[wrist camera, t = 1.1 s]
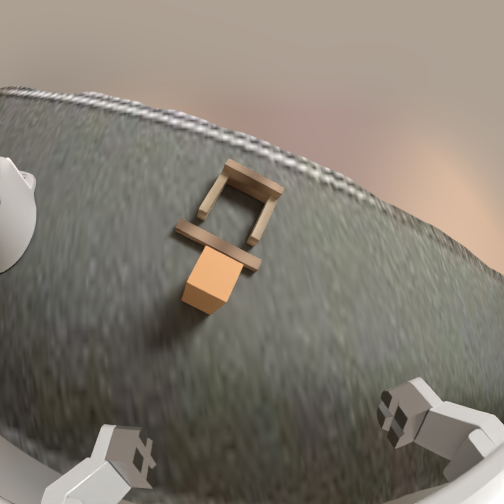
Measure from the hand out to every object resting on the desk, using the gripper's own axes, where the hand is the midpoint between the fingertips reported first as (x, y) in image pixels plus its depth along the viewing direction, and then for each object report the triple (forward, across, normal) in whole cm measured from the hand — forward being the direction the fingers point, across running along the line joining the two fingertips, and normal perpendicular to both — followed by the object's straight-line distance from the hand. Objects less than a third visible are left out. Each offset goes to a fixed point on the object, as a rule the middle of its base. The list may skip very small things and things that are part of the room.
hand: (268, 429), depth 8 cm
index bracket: (+34, -1, -3) cm, 35 cm away
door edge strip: (+31, +2, +1) cm, 31 cm away
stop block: (+27, +4, +6) cm, 28 cm away
